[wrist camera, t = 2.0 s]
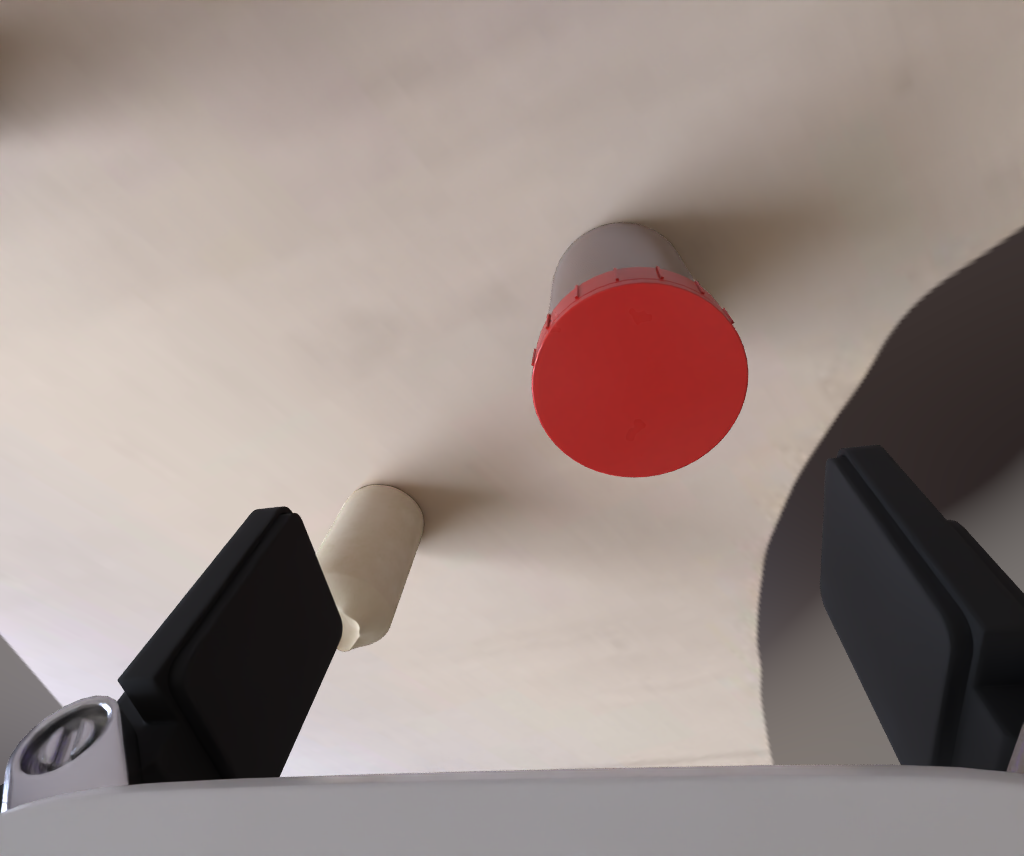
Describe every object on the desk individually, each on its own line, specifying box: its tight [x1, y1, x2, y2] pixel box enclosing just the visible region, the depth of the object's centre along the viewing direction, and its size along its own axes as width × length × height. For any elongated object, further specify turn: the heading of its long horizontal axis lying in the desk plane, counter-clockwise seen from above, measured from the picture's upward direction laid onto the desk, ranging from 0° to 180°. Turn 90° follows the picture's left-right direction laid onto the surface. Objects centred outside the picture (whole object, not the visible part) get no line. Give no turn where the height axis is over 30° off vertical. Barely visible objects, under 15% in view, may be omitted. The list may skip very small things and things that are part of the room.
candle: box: [316, 485, 424, 652], centre depth 37 cm, size 6×6×10 cm
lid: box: [532, 266, 748, 477], centre depth 23 cm, size 8×8×2 cm
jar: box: [549, 222, 695, 314], centre depth 28 cm, size 7×7×12 cm
